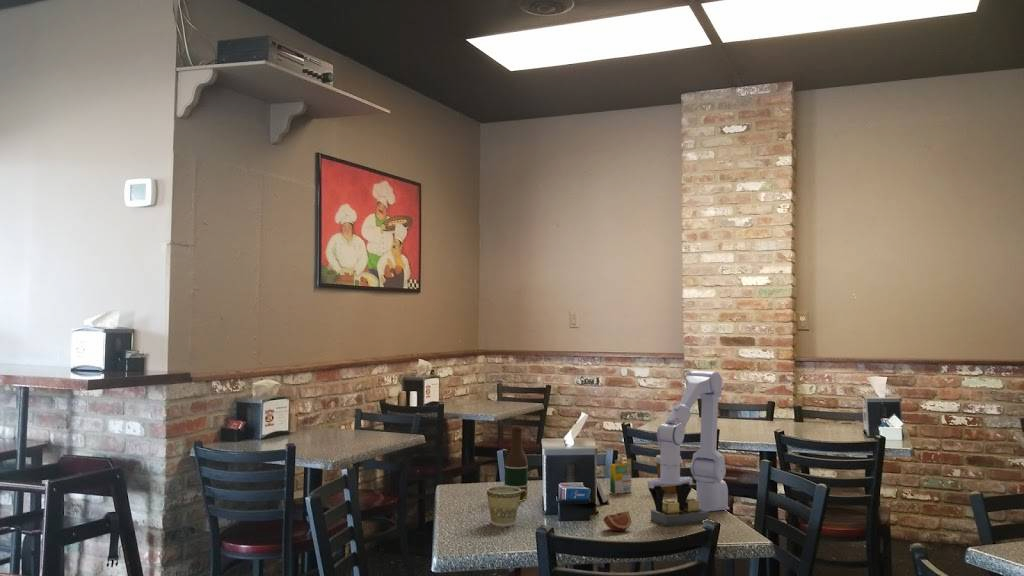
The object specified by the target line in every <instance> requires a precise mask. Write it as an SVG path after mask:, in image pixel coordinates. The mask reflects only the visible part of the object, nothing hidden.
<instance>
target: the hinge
mask: <svg viewBox="0 0 1024 576" xmlns="http://www.w3.org/2000/svg"><path fill="white" fill-rule="evenodd" d="M605 502H606V504H607V503H609V504H608V505H611V502H610V499H609V498H608V497H606V496H605V494H604V492H603V489H602V486H601V483H600V481H599V480H598V479H597V505H596V506H600V505H601V503H603V504H604V503H605Z"/></svg>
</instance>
